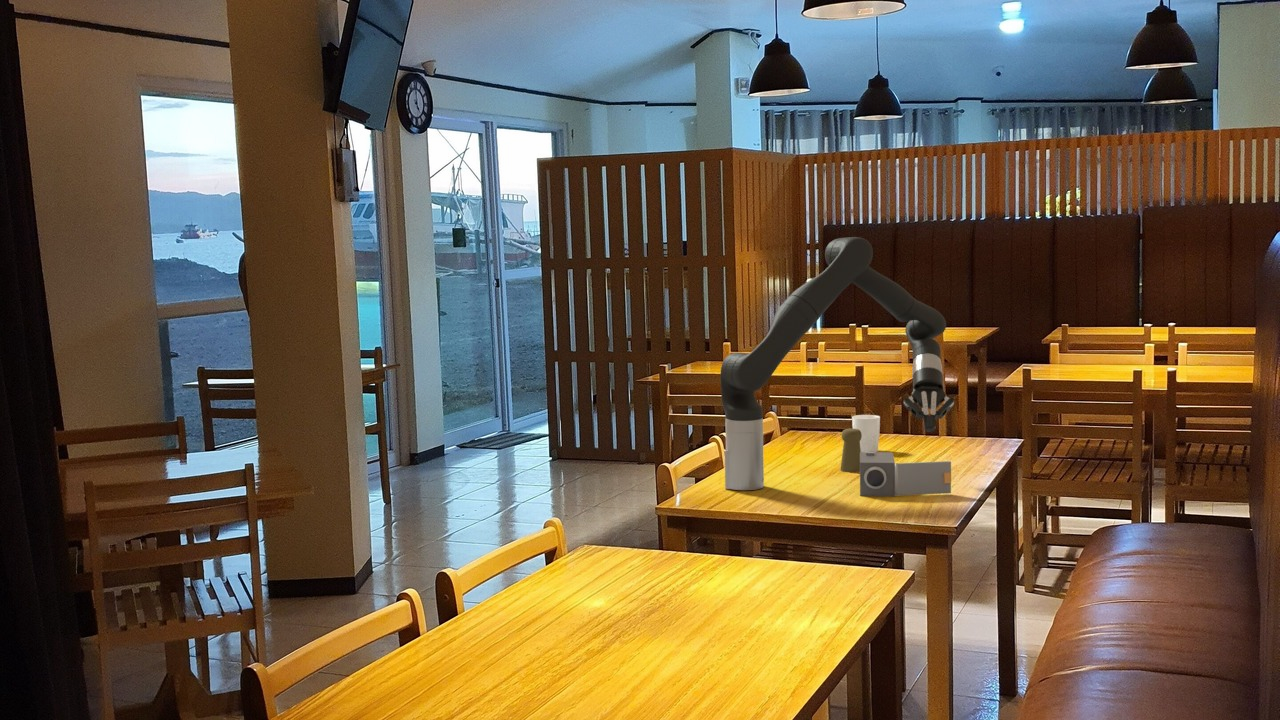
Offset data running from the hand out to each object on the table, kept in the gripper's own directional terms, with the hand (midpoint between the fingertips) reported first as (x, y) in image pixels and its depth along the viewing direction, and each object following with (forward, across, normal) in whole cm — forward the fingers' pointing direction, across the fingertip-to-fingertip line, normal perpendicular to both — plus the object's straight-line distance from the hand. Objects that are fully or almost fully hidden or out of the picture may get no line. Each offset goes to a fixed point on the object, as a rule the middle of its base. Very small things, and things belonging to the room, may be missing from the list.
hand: (930, 430), depth 294 cm
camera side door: (+21, -2, -2) cm, 21 cm away
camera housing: (+17, -13, +2) cm, 21 cm away
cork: (-1, -19, +20) cm, 28 cm away
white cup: (-22, -15, +40) cm, 48 cm away
